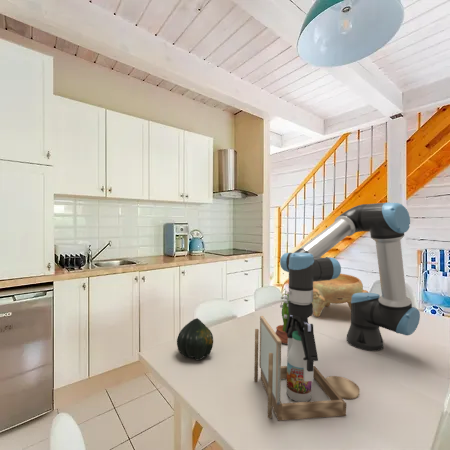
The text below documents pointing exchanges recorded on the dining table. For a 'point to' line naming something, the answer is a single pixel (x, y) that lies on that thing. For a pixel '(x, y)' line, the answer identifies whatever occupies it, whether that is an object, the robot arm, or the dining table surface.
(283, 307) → the potted flower
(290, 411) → the cold frame
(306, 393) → the milk bottle
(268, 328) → the lid
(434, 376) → the dining table surface
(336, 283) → the decorative bowl
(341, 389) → the disc
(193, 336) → the squash
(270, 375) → the prop sticks
